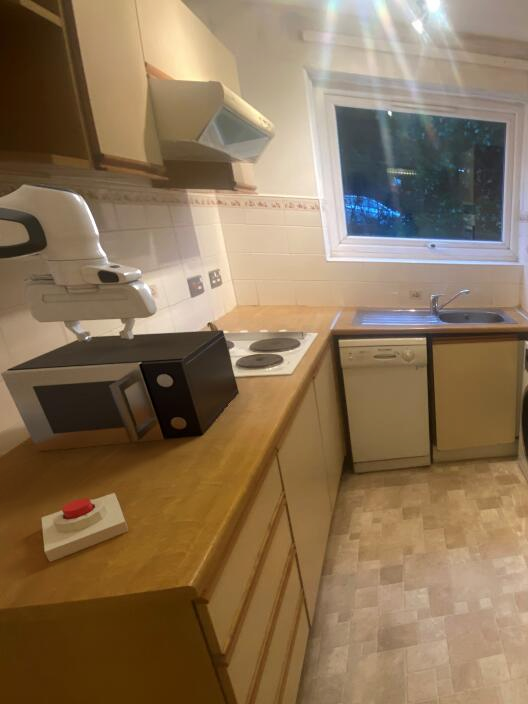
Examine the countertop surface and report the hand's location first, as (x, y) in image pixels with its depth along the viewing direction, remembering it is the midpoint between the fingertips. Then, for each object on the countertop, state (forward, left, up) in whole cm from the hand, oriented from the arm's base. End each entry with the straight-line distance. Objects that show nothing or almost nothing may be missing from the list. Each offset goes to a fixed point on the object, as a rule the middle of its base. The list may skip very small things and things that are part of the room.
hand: (107, 339), depth 92 cm
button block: (+16, -24, -27) cm, 39 cm away
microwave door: (-11, -3, -27) cm, 29 cm away
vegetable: (-17, +41, -27) cm, 52 cm away
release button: (+16, -24, -23) cm, 37 cm away
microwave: (-15, +13, -27) cm, 33 cm away
